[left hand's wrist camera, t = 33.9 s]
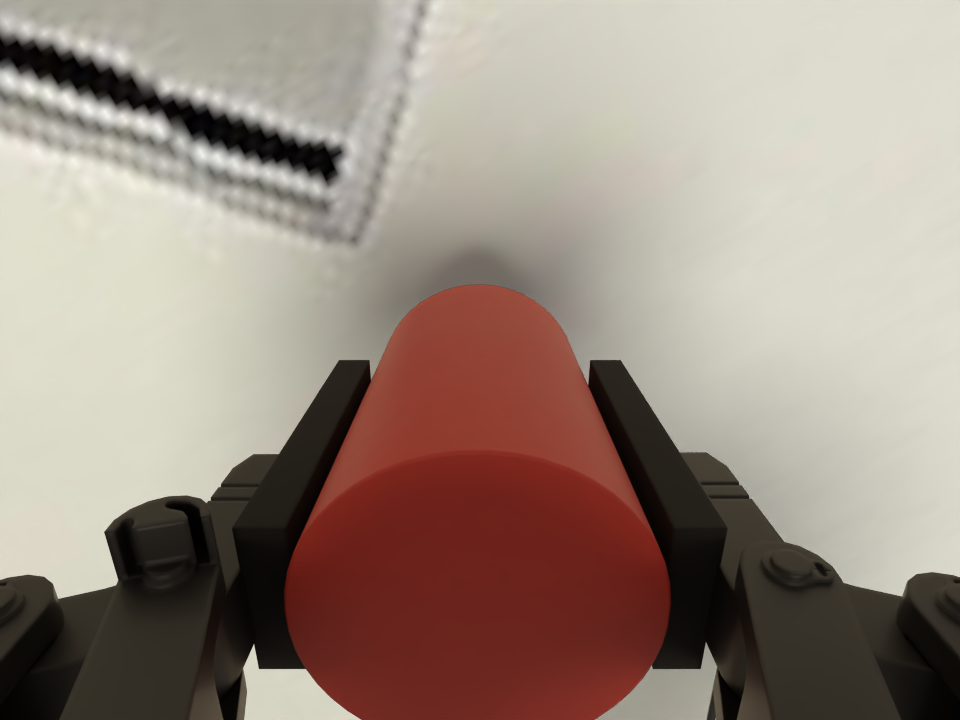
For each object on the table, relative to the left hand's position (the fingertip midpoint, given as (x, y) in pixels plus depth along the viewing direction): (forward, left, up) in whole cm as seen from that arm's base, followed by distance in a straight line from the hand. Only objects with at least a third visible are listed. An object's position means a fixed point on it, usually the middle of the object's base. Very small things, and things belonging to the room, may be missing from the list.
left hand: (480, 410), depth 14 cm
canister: (0, 0, -2) cm, 2 cm away
